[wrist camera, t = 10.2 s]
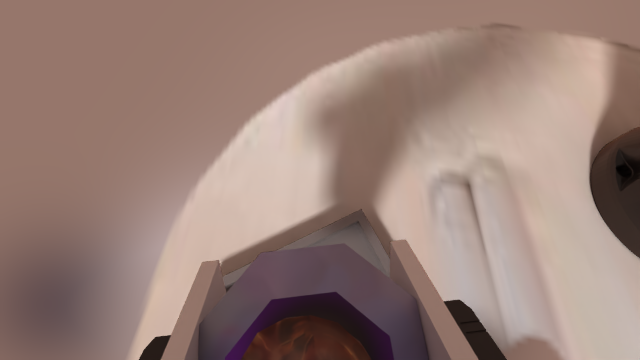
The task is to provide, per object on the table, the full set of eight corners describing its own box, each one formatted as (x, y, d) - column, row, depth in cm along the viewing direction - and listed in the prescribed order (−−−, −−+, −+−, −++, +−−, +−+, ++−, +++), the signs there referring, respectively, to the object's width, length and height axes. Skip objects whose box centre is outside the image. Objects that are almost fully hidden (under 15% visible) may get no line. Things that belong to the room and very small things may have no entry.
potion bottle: (426, 380, 17) (643, 515, 6) (279, 484, 15) (168, 975, 4) (342, 238, 19) (376, 139, 8) (211, 311, 18) (38, 309, 7)
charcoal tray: (359, 214, 30) (361, 209, 28) (448, 374, 25) (457, 378, 23) (212, 286, 28) (205, 284, 26) (279, 479, 23) (276, 492, 21)
